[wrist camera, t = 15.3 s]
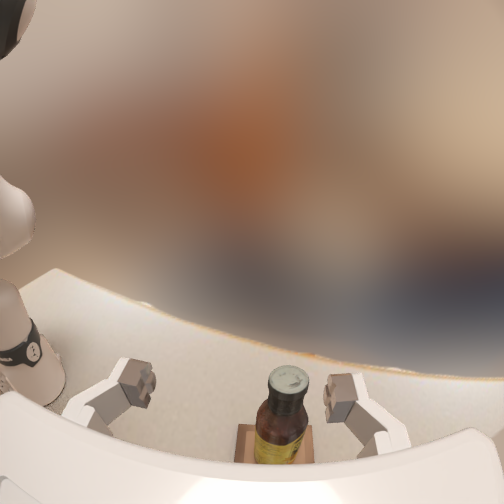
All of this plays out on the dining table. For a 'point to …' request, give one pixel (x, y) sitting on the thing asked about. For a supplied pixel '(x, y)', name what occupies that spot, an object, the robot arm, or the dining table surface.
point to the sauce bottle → (282, 417)
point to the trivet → (247, 441)
